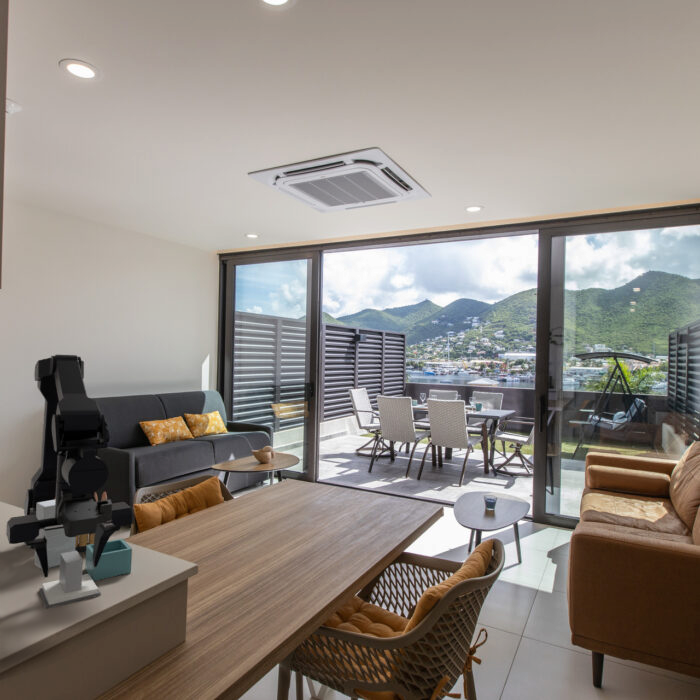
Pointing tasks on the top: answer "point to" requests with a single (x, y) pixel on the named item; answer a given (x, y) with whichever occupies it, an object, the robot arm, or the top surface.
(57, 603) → the mat
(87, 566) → the teal open box
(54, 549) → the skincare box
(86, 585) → the lid
